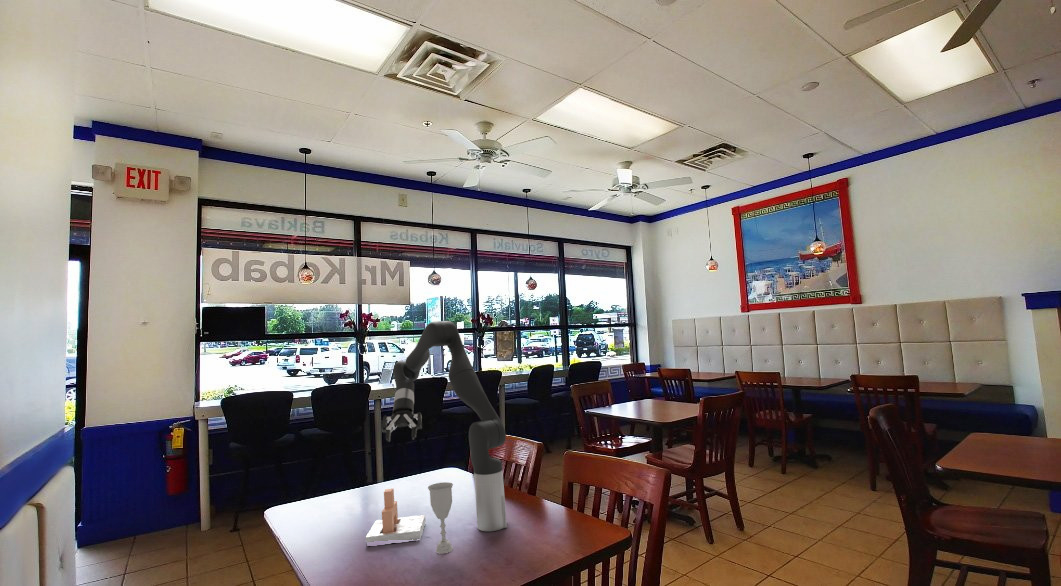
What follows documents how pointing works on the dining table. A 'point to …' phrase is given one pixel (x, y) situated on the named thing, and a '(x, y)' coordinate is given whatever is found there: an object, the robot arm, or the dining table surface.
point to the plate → (398, 529)
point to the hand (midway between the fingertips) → (400, 439)
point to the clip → (389, 511)
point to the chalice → (441, 510)
